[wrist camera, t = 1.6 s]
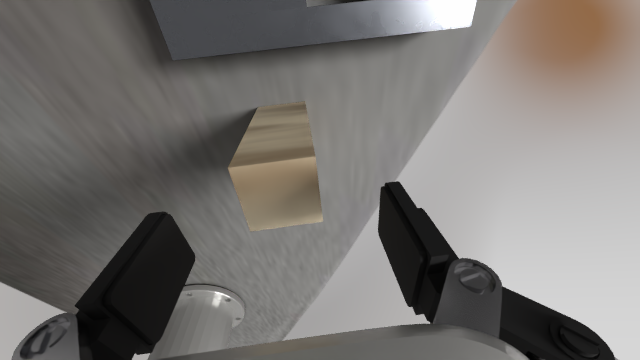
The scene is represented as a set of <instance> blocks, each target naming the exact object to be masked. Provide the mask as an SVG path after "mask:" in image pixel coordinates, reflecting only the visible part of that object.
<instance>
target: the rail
mask: <svg viewBox="0 0 640 360" xmlns="http://www.w3.org/2000/svg"><path fill="white" fill-rule="evenodd" d="M150 3H151V6H152V8H153V11H154V13H155V16H156V18H157V21H158V24H159V26H160V29H161V31H162V34H163V36H164V39H165V42H166V44H167V47H168V49H169V52H170V54H171V57H172V59H173V60H181V59H190V58H198V57H207V56H216V55H225V54H234V53H242V52H251V51H260V50H269V49H277V48H286V47H295V46H304V45H312V44H321V43H330V42H339V41H348V40H356V39H365V38H374V37H383V36H391V35H400V34H409V33H418V32H426V31H435V30H444V29H453V28H462V27H470V26H471V23H472V18H473V14H474V9H475V4H476V0H370V1H360V2H351V3H342V4H333V5H323V6H314V7H306V0H150Z"/></svg>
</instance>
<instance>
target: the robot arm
mask: <svg viewBox="0 0 640 360" xmlns="http://www.w3.org/2000/svg"><path fill="white" fill-rule="evenodd" d="M378 233H379V237H380V239H381V242H382V244H383V247H384V249H385V252H386V254H387V257H388V259H389V262H390V264H391V266H392V269H393V271H394V274H395V276H396V278H397V281H398V284H399V286H400V289H401V291H402V293H403V296H404V299H405V301H406V303H407V305H408V306H409V307H413V309H414V312H415V314H416V315H419V314H424V315H425V317H426V319H427V321H429V322H430V324H414V325H400V326H391V327H384V328H374V329H366V330H358V331H350V332H343V333H336V334H328V335H321V336H314V337H307V338H300V339H292V340H285V341H278V342H271V343H264V344H257V345H250V346H243V347H236V348H229V349H228V343H229V338H230V333H231V329H232V328H234V327H236V326H237V325H238V324H240V322H241V321H242V320H243V317H244V313H245V305H244V303H243V301H242V300H241V298H240V297H239V296H237V295H236V294H235V293H233V292H231V291H229V290H227V289H224V288H221V287H217V286H212V285H190V286H185V287H184V285H185V283H186V280H187V278H188V276H189V274H190V271H191V269H192V267H193V264H194V262H195V254H194V252H193V251H192V249H191V247H190V246H189V244H188V242H187V241H186V239H185V237H184V236H183V234H182V232H181V231H180V229H179V227H178V226H177V224H176V222H175V221H174V219H173V217H172V216H171V215H170V214H167V213H166V212H156V213H150V214H148V215H147V216H146V217H145V218H144V220H143V221H142V222H141V223H140V225H139V226H138V227H137V228H136V230H135V231H134V232H133V233H132V235H131V236H130V237H129V238H128V240H127V241H126V242H125V243H124V245H123V246H122V247H121V248H120V250H119V251H118V252H117V253H116V255H115V256H114V257H113V258H112V260H111V261H110V262H109V263H108V265H107V266H106V267H105V268H104V270H103V271H102V272H101V273H100V275H99V276H98V277H97V278H96V280H95V281H94V282H93V283H92V285H91V286H90V287H89V288H88V290H87V291H86V292H85V293H84V295H83V296H82V297H81V298H80V300H79V301H78V302H77V303H76V305H75V307H77V308H78V309H79V311H78V313H77V314H76V315H75V314H73V313H63V314H59V315H56V316H54V317H52V318H50V319H48V320H46V321H45V322H43V323H42V324H40V325H39V326H37V327H36V328H35V329H34V330H33V331H31V332H30V333H29V334H28V335H27V336H26V337H25V338H24V339H23V340H22V341H21V342H20V344H19V345H18V347H17V348H16V349H15V351H14V354H13V356H12V360H132V358H133V356H134V354H135V353H136V354H137V355H140V354H147V353H150V355H149V358H148V360H618V359H616V358H615V357H614V355H613V352H612V351H611V350H610V348H609V347H608V345H607V344H606V343H605V342H604V341H603V340H602V339H601V338H600V337H599V336H598V335H597V334H596V333H595V332H593V331H592V330H591V329H590V328H588V327H587V326H585V325H583V324H582V323H580V322H578V321H576V320H574V319H572V318H570V317H568V316H566V315H563V314H561V313H559V312H557V311H554V310H552V309H550V308H548V307H546V306H544V305H541V304H539V303H537V302H535V301H533V300H531V299H528V298H526V297H524V296H522V295H520V294H518V293H516V292H513V291H511V290H509V289H506V288H505V287H502V283H501V281H500V279H499V277H498V275H497V274H496V273H495V272H494V271H493V270H492V269H491V268H489V267H488V266H487V265H485V264H483V263H481V262H479V261H477V260H473V259H468V258H461V259H459V258H458V257H457V255H456V254H455V253H454V251H453V250H452V248H451V247H450V245H449V244H448V243H447V241H446V240H445V238H444V237H443V236H442V234H441V233H440V232H439V230H438V229H437V227H436V226H435V224H434V223H433V222H432V220H431V219H430V217H429V216H428V215H427V213H426V212H425V211H424V210H423V209H422V208H417V207H416V205H415V204H414V202H413V201H412V200H411V198H410V197H409V195H408V194H407V192H406V191H405V189H404V188H403V186H402V185H401V184H400V182H398V181H397V182H389V183H385V186H383V187H381V193H380V210H379V224H378Z"/></svg>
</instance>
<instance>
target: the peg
mask: <svg viewBox="0 0 640 360" xmlns="http://www.w3.org/2000/svg"><path fill="white" fill-rule="evenodd" d="M228 170H229V173H230V176H231V178H232V181H233V184H234V187H235V190H236V193H237V195H238V198H239V201H240V204H241V207H242V210H243V212H244V215H245V218H246V221H247V224H248V226H249V229H250V232H251V231H258V230H265V229H273V228H280V227H287V226H294V225H301V224H308V223H315V222H322V221H323V217H322V209H321V200H320V192H319V183H318V175H317V166H316V158H315V152H314V147H313V142H312V136H311V131H310V126H309V120H308V115H307V110H306V104H305V101H304V102H296V103H288V104H280V105H272V106H264V107H258V108H257V110H256V112H255V114H254V116H253V118H252V120H251V122H250V124H249V126H248V128H247V130H246V132H245V134H244V136H243V138H242V140H241V142H240V144H239V146H238V148H237V150H236V152H235V154H234V156H233V158H232V160H231V162H230V164H229V166H228Z"/></svg>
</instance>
